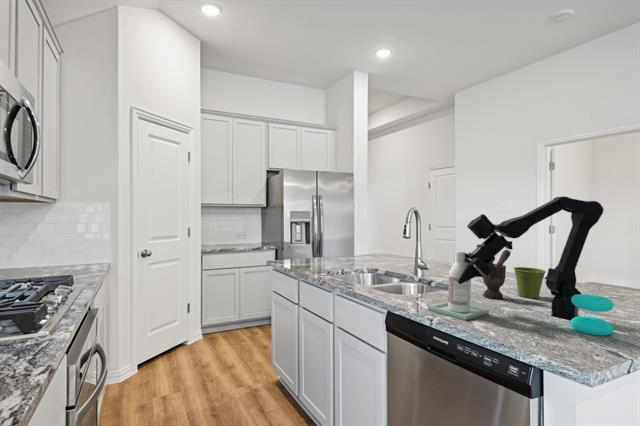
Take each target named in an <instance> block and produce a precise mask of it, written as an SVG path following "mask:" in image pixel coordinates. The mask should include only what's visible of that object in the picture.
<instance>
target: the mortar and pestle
mask: <svg viewBox="0 0 640 426" xmlns="http://www.w3.org/2000/svg"><path fill="white" fill-rule="evenodd" d="M511 253H512V252H511V250H510V249H504V250H503V251H502V252H501V255H500V256H499V258H498V261H497V262H496V263H494V262H493V264H494V266H495V267H496V270H497V272H498V274H499V278H496V279H494V280H491V281H490V280H489V279H486V277H485V276H484V275H483V276H484V277H482V280H483V284H484V285H485V286H486V290H484V291H483V294H482V296H483V297H484V298H486V299H487V298H489V299H497V300H502V299H504V295H503V293H502V292H501V290H500V288H501V287H503V286H504V283H505V280H506V273H507V266H506V265H504V264H505V262H506V261H507V260H508V259H509V257H510V256H511Z"/></svg>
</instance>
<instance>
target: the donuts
mask: <svg viewBox="0 0 640 426" xmlns="http://www.w3.org/2000/svg"><path fill="white" fill-rule="evenodd" d="M571 301H572V303H573V304H574V305H575V306H576V307H578V309H580V310H583V311H584V310H585V311H590V312H596V313H606V312H609V311H612V310H613V309H614V307H615V303H614V301H612V300H611V299H610V298H608V297H605V296H601V295H595V294H588V293H581V294H577V295H574V296H572V298H571ZM570 326H571V327H572V328H573V330H576V331H578V332H581V333H583V334H588V335H592V336H593V335H594V336H600V337H601V336H603V337H604V336H609V335H612V334H613V332H614V327H613V325H612V324H611V323H610V322H608V321H606V320H604V319H603V318H598V317H594V316H588V315H579V316H578V317H575V318H573V319H572V320H570Z"/></svg>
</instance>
